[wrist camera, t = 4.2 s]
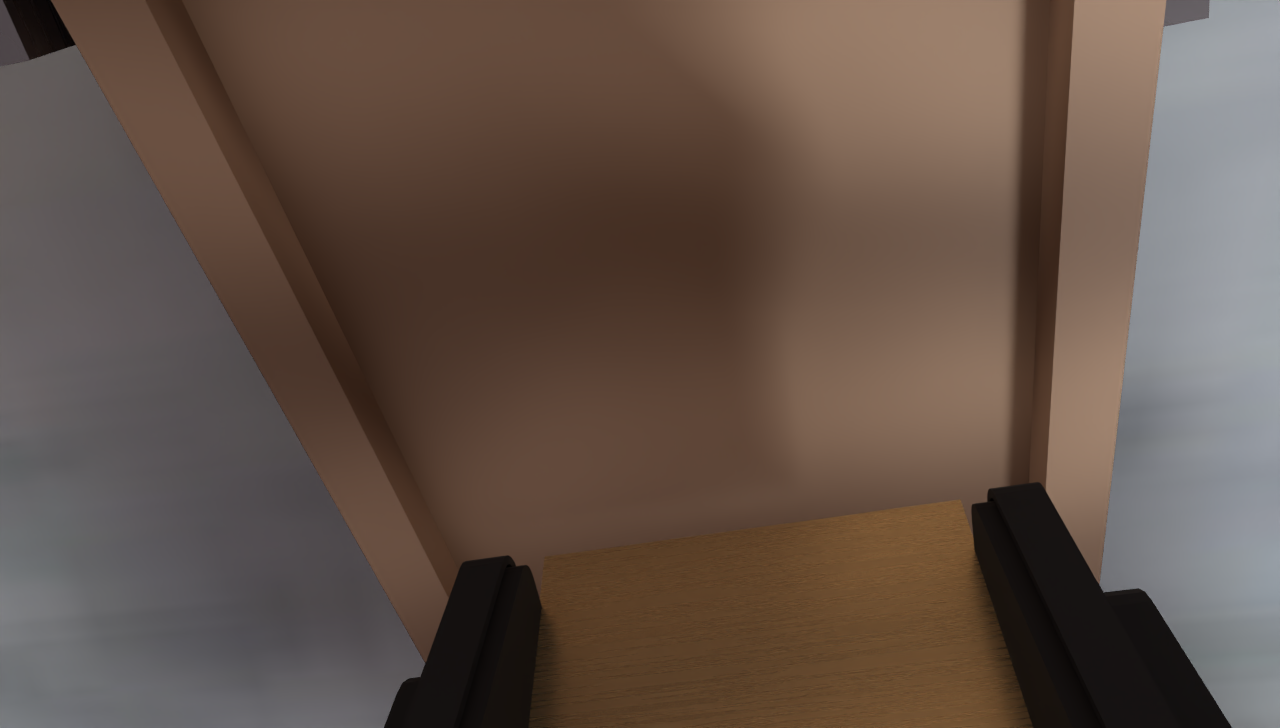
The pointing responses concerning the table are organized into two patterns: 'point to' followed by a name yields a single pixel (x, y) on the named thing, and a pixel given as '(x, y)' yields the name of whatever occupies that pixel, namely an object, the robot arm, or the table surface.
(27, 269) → the table surface
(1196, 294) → the table surface
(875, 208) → the beam
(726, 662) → the rider
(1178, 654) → the robot arm
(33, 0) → the beam stand
